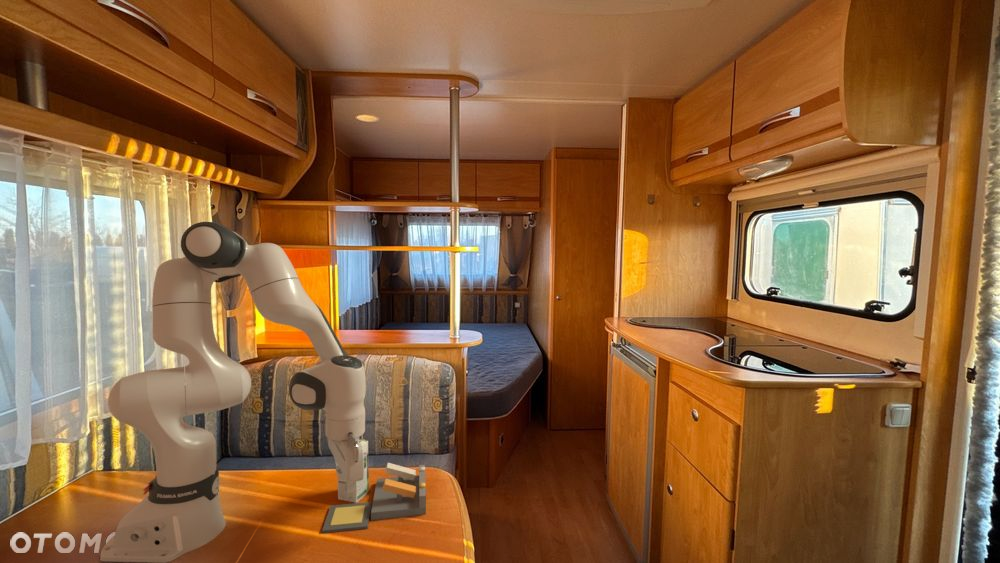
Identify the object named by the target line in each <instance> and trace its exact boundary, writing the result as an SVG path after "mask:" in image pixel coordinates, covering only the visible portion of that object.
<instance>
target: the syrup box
mask: <svg viewBox="0 0 1000 563" xmlns="http://www.w3.org/2000/svg"><path fill="white" fill-rule="evenodd" d="M358 441H359V442H360V444H361V445H362V447H363V453H364V477H363V479H362V480H360V481H356V483H355V490H354V492H352V493H349V494H348V493H347V492H346V490H345V483H346V479H345V477H344V475H343V473H340V474H337V473H336V474H337V475H336V476H337V499H338V501H344V502H348V503H349V502H350V503H353V504H355V503H358V502H359V501H360V500H362V499H363V498H364V497H365V496H366V495H367V494H368V493H369V492H370V485H369V484H370V481H369V480H370V478H369V472H370V471H369V440H367V439H364V438H359V440H358Z"/></svg>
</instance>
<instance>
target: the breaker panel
mask: <svg viewBox="0 0 1000 563" xmlns="http://www.w3.org/2000/svg"><path fill="white" fill-rule="evenodd" d="M418 470H419V471H418V475H416V476H415V479H414V481H412V480H409V479H405V478H401V477H398V476H393V477H383V478H380V477H379V478H376V482H375V488H374V495H373V499H372V505H371V511H370V521H371V522H372V521H378V520H387V519H388V520H389V519H397V518H407V517H415V516H421V515H422V516H423V515H427V484H426V464H419V465H418ZM385 479H390V480H393V481H397V482H401V483H405V484H409V485H413V486H416V493H415V496H414V498H411V497H407V496H403V495H399V494H395V493H391V492H387V491H383V484H384V482H385Z"/></svg>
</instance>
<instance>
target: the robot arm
mask: <svg viewBox="0 0 1000 563" xmlns="http://www.w3.org/2000/svg"><path fill="white" fill-rule="evenodd" d="M180 248H181V252H182V254H183V255H184V257H177V258H172V259H167V260H166V261H164V262H162V263H160V264H159V265H158V267H157V269H156V273H155V277H154V281H153V288H152V301H151V302H152V303H151V304H152V306H151V309H152V310H151V311H152V314H151V315H152V339H153V340H154V342H155V344H156V346H158V347H160V348H163V349H165V350H167V351H170V352H174V353H177V354H179V355H183V356H184V357H186V358H187V359H188V361H189V363H188V364H187V365H185V366H179V367H178V366H177V367H171V368H170V367H169V368H161V369H151V370H146V371H141V372H138V373H133V374H131V375H127V376H124V377H123V376H122V377H121V378H120V379H119V380H118V381H117V382H115V384H114V385H113V386H112V387H111V390H110V392H109V395H108V398H107V407H108V410H109V412H110V413H111V415H112V417H114V418H115V420H117V421H118V422H120V423H122V424H124V425H127V426H129V427H132V428H134V429H136V431H139V432H140V433H141V434H142V435H143V436H144V437H145V438H146V439H147V440H148V442H149V444H150V445H151V447H152V450H153V454H154V461H155V471H156V474H155V477H154V478H153V479H152V480H150V482H149V483H148V485H147V486H146V487H145V488H144V489H143V490H142V491H143V495H146V494H147V493H148V496H146V497H144V499H143V500H141V501H140V502H138V503H137V504H136V505H135V506H134V507H132V508H131V509H130V510H129V511H128V512H126V513H125V514H124V516H122V518H121V520H120V521H119V523H118V524H117V527H116V529H115V533H114V535H113V536H112V537H111V538H110V539H109V540H108V541H107V542H106V544H105V545H104V546H103V547H102V549H101V551H100V556H99V561H100V562H114V563H115V562H119V563H121V562H122V563H171V562H172V561H174V560H176V559H178V558H179V557H181V556H183V555H184V554H187V553H189V552H191V551H194V550H196V549H199V548H201V547H203V546H204V545H206V544H208V543H211V541H213V540H215V539H216V538H217V537H218V536H219V535H220V534H221V533H222V532H223V530H224V529H225V526H226V523H227V522H226V518H225V517H224V513H223V510H222V506H221V502H220V495H219V493H220V484H221V482H220V473H219V472H220V471H219V469H220V468H219V466H218V465H217V440H216V437H215V435H214V434H213V433H212V432H211V431H209V430H207V429H205V428H203V427H198V426H193V425H191V424H187V423H186V422H185V421H183V418H185V417H188V416H189V417H190V416H194V415H195V416H196V415H200V414H206V413H207V414H208V413H212V412H218V411H222V410H225V409H228V408H232V407H235V406H238V405H240V404H242V403H244V401H245V400H246V399H247V397H248V396H249V394H250V391H251V390H252V389H251V388H252V379H251V378H252V376H251V375H250V372H249V371H248V369H247V368H246V367H245V366H244V365H242V364H241V363H240V362H237V361H236V360H234V359H232V358H231V357H230V356H229V355H227V354H226V353H225V351H224V350H222V348H221V347H220V345H219V343H218V341H217V338H216V335H215V330H214V329H215V328H214V323H213V312H212V311H213V310H212V308H213V307H212V286H213V285H214V283H218V284H219V283H222V282H225V281H228V280H231V279H235V278H238V277H242V278H243V280H244V281H245V284H246V286H247V288H248V291H249V293H250V295H251V298H252V301H253V303H254V306H255V308H256V309H257V311H258V312H259V314H260V316H262V318H264V319H265V320H268V321H269V322H271V323H274V324H279V325H285V326H289V327H292V328H295V329H298V330H300V331H301V332H303V333H304V334H305V335H306V336H307V337H308V339H309V341H310V343H311V345H312V346H313V347H314V349H315V351H316V353H317V355H318V356H319V359H320V360H321V363H318V364H316V365H313V366H310V367H308V368H305V369H302V370H299V371H298V372H296V373H294V374H293V376H292V377H291V379H290V381H289V384H288V395H289V397H290V400H291V402H292V403H293V404H294V406H296V407H297V408H298V409H301V410H305V411H319V410H320V411H321V410H324V411H325V414H324V417H323V422H324V426H325V431H324V432H325V437H326V439H327V445H328V448H329V450H330V452H331V454H332V457H333V459H334V464H335V473H336V474H340V473H343V475H344V477H345V479H346V483H345V490H346V492H347V493H348V494H349V493H352V492H354V490H355V483H356V481H360V480H362V479H363V477H364V453H363V447H362V445H361V444H360V442H359V441H358V440H359V439H360V437H361V436H362V435H364V434H365V433H366V408H365V398H366V392H367V381H366V380H367V379H366V371H365V370H366V369H365V365H364V363H363V362H362V361H361V359H359V358H358V357H356V356H353V355H348V354H347V352H346V351H345V349H344V347H343V346H342V344H341V342H340V340H339V338H338V337H337V336H338V335H336V333H335V331H334V330H333V328H332V325H331V323H330V322H329V320H328V318H327V317H326V315H325V313H324V312H323V310H322V309H321V308H320V306H318V304H317V303H315V302H314V301H313V300H312V299H311V298H310V296H309V295H308V294H307V292H306V291H305V288H304V287H303V285H302V283H301V281H300V278H299V276H298V274H297V272H296V269H295V267H294V265H293V263H292V262H291V260H290V258H289V257H288V255H287V254H286V252H285V251H284V249H283V248H282V247H281V246H280V245H278V244H275V243H273V242H262V243H261V242H260V243H257V244H253V245H252V244H250V243H249V242H248V241H246V240H245V239H244V238H243V237H242V236H241V235H240V234H239V233H237V232H236V231H233V230H232V229H231V228H230V227H227V226H226V225H223V224H221V223H218V222H213V221H200V222H196V223H194V224H192V225H190V226H189V227H188V228H187V229H185V231H184V232H183V233H182V236H181V238H180Z"/></svg>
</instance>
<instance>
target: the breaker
mask: <svg viewBox="0 0 1000 563" xmlns="http://www.w3.org/2000/svg"><path fill="white" fill-rule="evenodd" d="M384 473H385V474H387V475H391V476H393V477H401V478H405V479H409V480H412V481H414V479H415V476H417V470H416V469H412V468H409V467H405V466H402V465H398V464H394V463H391V462H387V464H386V467H385V472H384Z"/></svg>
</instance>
